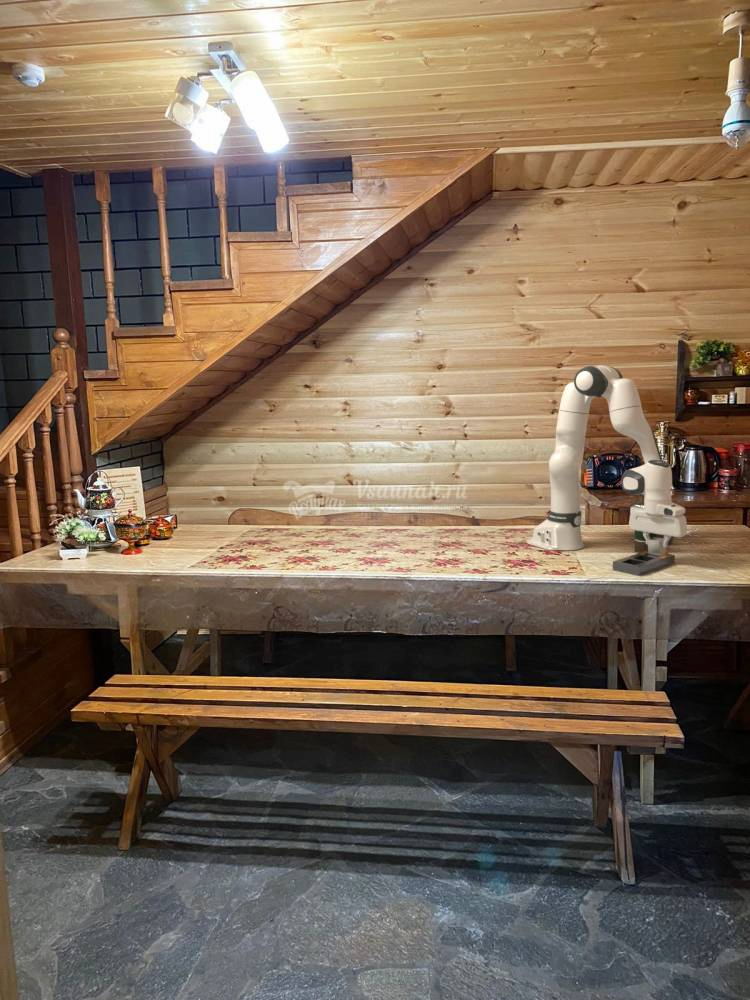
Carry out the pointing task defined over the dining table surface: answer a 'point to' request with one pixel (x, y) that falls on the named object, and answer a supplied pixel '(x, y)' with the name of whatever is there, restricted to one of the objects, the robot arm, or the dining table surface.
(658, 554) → the block
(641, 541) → the beer bottle
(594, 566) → the dining table surface
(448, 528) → the dining table surface
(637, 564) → the grey tray
